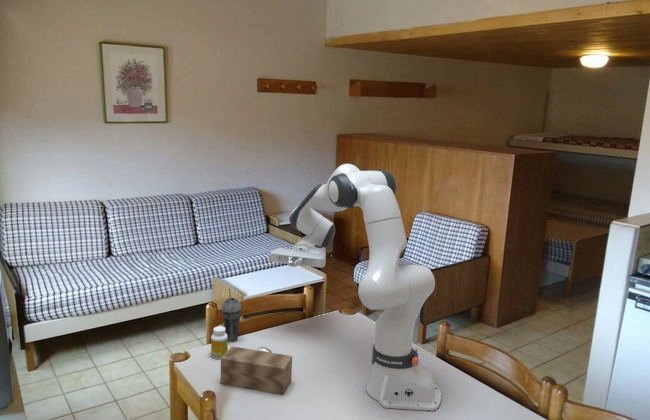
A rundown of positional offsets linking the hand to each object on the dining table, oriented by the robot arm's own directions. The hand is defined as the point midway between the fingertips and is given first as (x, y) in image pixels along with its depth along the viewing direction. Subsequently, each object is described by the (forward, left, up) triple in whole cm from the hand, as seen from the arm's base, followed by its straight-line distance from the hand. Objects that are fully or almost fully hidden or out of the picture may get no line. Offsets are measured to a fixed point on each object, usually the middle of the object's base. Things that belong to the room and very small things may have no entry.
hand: (291, 264), depth 172 cm
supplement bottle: (+20, +15, -30) cm, 39 cm away
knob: (+2, +24, -27) cm, 36 cm away
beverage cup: (+21, +3, -30) cm, 37 cm away
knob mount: (+2, +27, -30) cm, 40 cm away
